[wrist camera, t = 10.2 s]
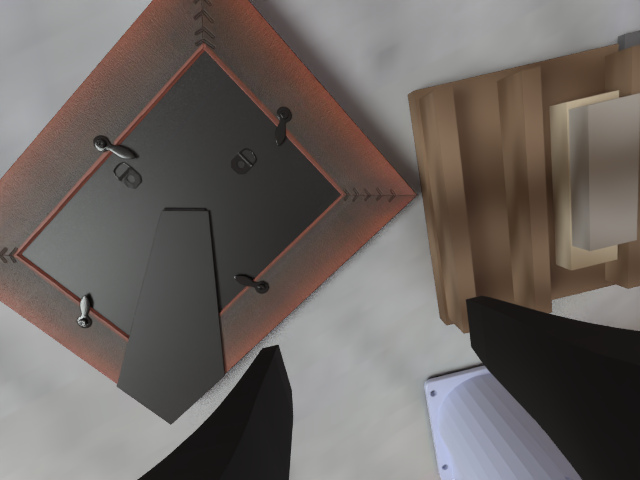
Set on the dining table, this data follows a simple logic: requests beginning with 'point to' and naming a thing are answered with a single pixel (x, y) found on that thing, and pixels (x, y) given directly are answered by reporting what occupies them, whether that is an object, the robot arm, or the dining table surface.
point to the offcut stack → (594, 177)
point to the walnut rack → (509, 181)
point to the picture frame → (187, 201)
